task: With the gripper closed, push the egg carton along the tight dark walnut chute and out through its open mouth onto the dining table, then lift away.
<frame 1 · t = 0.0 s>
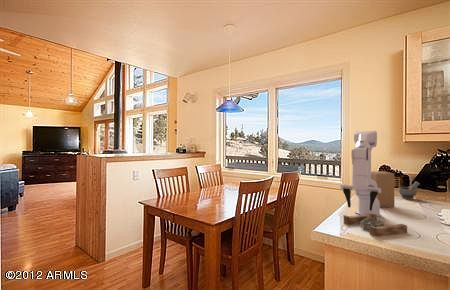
hand: (359, 208, 94), 11 cm above the counter, tool pointing down, fingers open, 7 cm apart
chute: (373, 227, 102), on the counter
wooden block: (381, 205, 137), on the counter
egg carton: (372, 228, 101), on the counter
mortar and pestle: (408, 199, 153), on the counter
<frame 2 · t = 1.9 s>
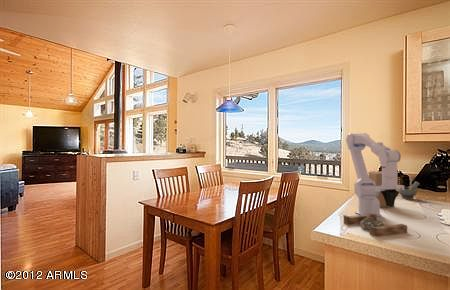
hand: (389, 206, 104), 9 cm above the counter, tool pointing down, fingers closed
nothing on the counter moved.
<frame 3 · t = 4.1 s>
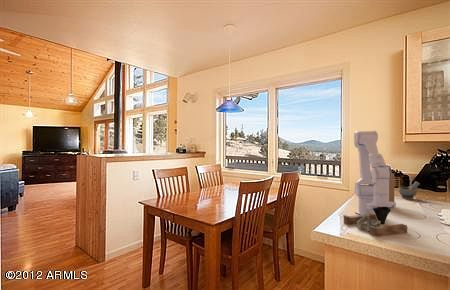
hand: (381, 223, 103), 1 cm above the counter, tool pointing down, fingers closed
egg carton: (368, 228, 101), on the counter, touching gripper
everything else where it was.
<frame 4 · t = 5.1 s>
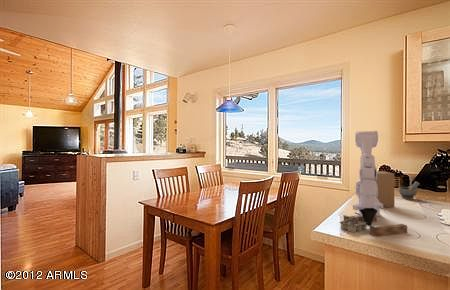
hand: (368, 225, 101), 1 cm above the counter, tool pointing down, fingers closed
egg carton: (353, 229, 101), on the counter, touching gripper
everything else where it was.
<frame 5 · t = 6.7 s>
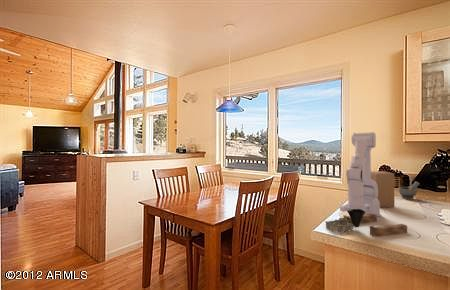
hand: (355, 226, 99), 1 cm above the counter, tool pointing down, fingers closed
egg carton: (339, 229, 101), on the counter
everything else where it was.
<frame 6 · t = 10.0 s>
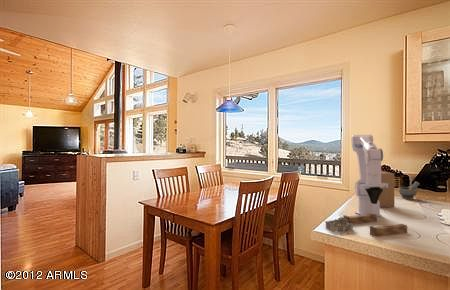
hand: (373, 203, 106), 9 cm above the counter, tool pointing down, fingers closed
nothing on the counter moved.
at the end: egg carton inside the target area (3.4 cm from its centre), on the counter; egg carton tilted 0°; egg carton moved 15.2 cm from its start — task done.
